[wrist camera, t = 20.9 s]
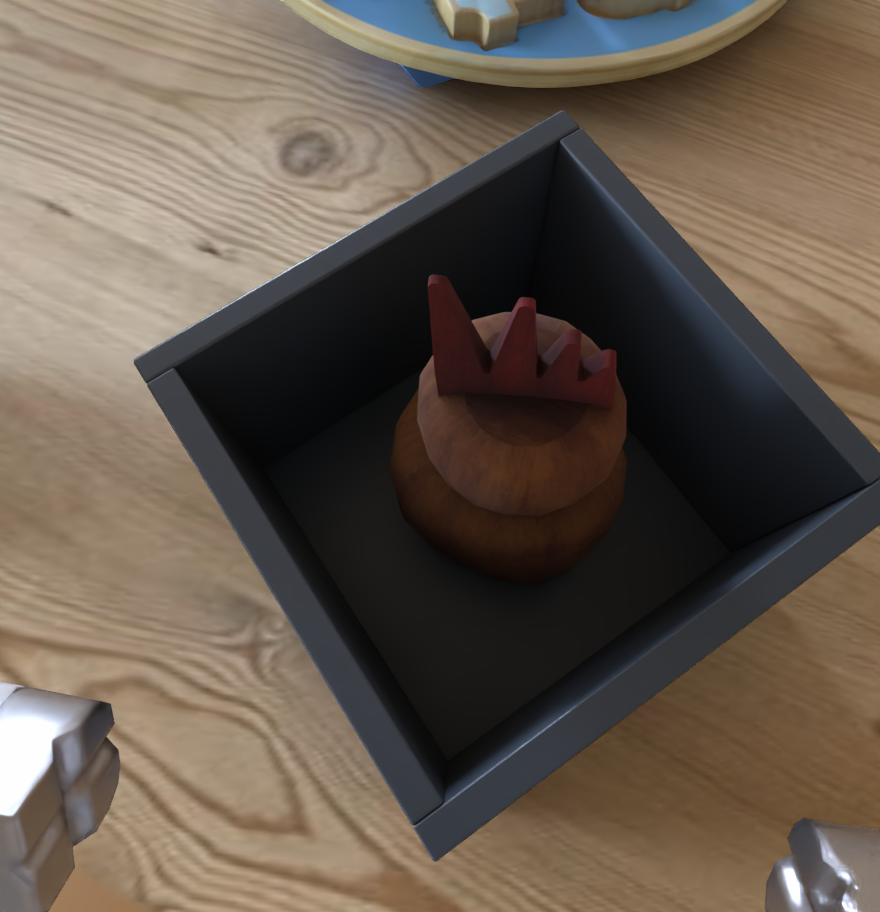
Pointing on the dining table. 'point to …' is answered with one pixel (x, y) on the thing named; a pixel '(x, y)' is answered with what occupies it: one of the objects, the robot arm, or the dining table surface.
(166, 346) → the tote
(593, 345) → the wooden figurine
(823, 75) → the dining table surface
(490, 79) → the shape sorting clock
